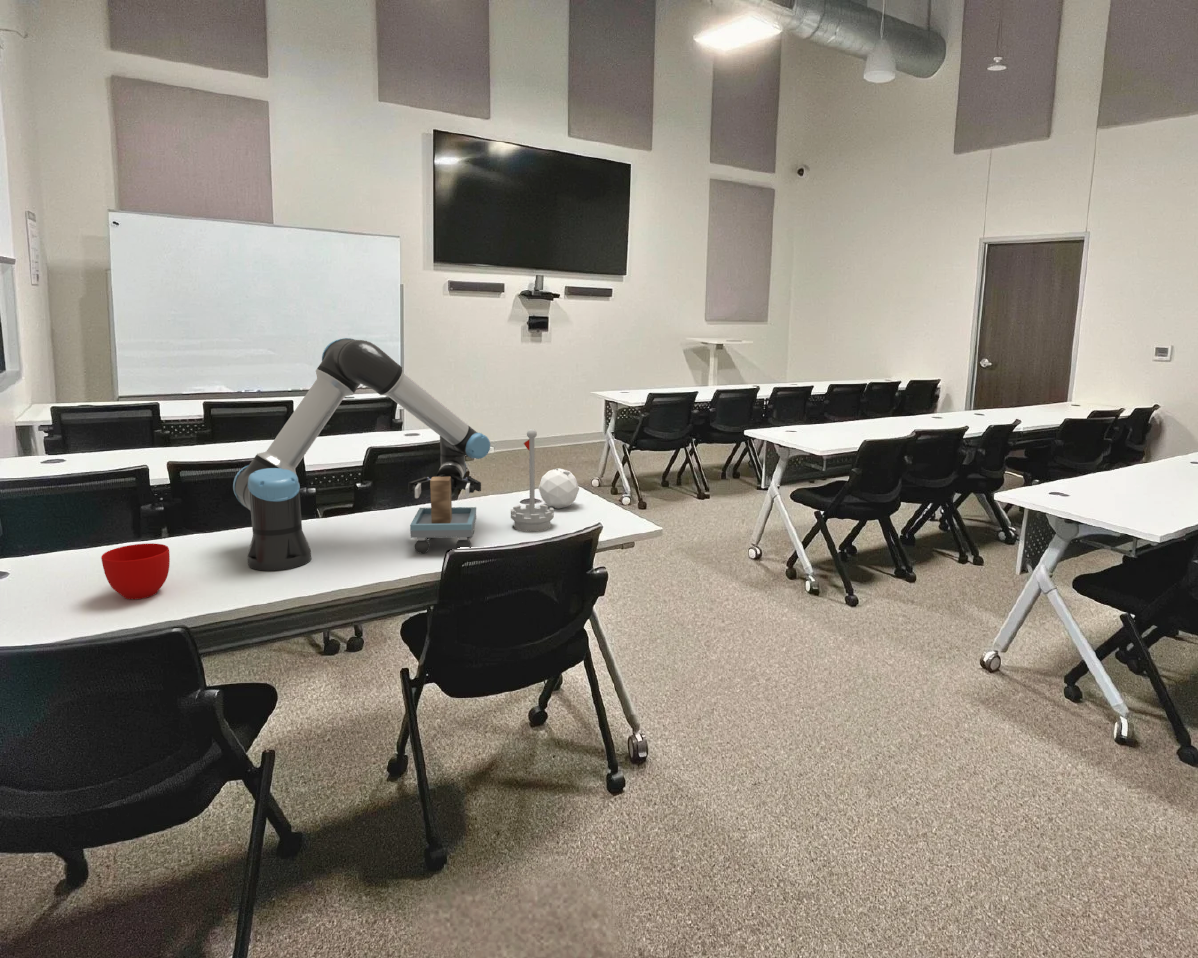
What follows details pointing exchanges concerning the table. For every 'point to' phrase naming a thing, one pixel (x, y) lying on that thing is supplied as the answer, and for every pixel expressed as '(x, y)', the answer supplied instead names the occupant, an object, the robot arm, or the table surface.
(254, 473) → the robot arm
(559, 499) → the geodesic sphere
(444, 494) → the walnut block
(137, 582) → the red bowl
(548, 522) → the flag stand
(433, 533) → the wheeled cart
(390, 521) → the table surface
